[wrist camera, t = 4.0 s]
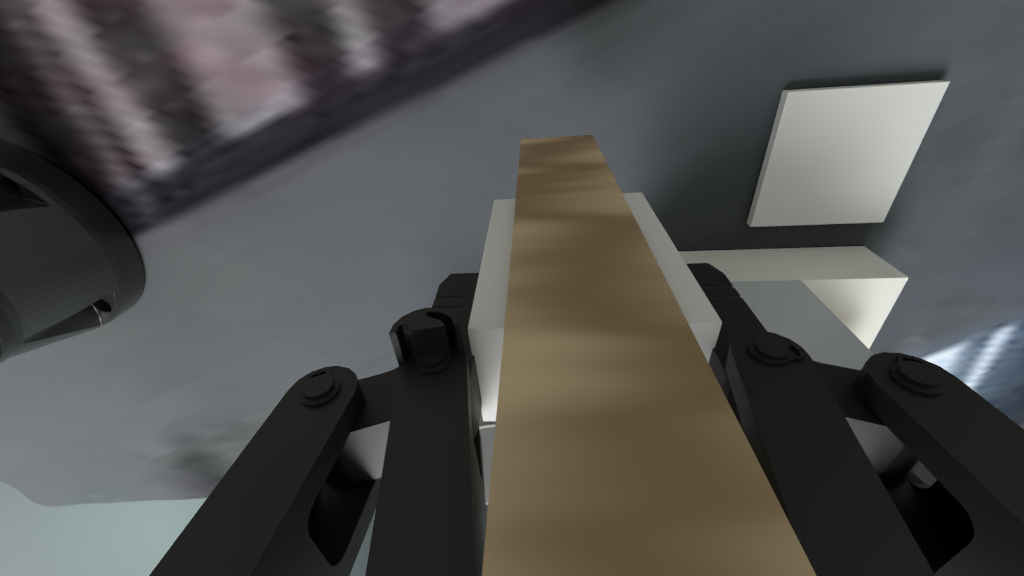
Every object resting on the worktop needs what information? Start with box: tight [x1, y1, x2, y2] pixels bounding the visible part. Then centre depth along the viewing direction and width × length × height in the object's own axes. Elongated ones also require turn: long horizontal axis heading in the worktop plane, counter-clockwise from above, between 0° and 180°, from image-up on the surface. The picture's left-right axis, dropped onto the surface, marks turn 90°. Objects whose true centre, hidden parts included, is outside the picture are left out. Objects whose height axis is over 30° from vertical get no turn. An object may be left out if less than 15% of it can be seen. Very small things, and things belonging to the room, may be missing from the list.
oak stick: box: [482, 135, 816, 576], centre depth 12 cm, size 3×3×18 cm
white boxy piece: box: [679, 246, 909, 370], centre depth 27 cm, size 16×13×12 cm
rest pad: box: [747, 80, 949, 227], centre depth 24 cm, size 8×8×1 cm
